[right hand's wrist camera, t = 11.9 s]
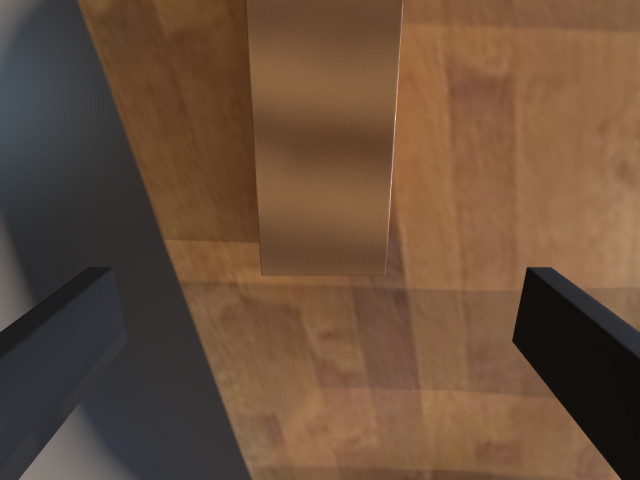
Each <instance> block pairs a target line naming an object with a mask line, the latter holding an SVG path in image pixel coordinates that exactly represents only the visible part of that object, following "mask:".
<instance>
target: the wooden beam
mask: <svg viewBox="0 0 640 480" xmlns="http://www.w3.org/2000/svg"><path fill="white" fill-rule="evenodd" d="M402 14H403V0H246V16H247V34H248V51H249V68H250V86H251V103H252V121H253V138H254V155H255V173H256V190H257V207H258V225H259V242H260V259H261V275H386V261H387V246H388V230H389V215H390V199H391V184H392V168H393V153H394V137H395V122H396V107H397V91H398V76H399V60H400V45H401V29H402Z"/></svg>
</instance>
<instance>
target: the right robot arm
mask: <svg viewBox="0 0 640 480" xmlns="http://www.w3.org/2000/svg"><path fill="white" fill-rule="evenodd" d="M127 342H128V339H127V334H126V329H125V325H124V320H123V315H122V310H121V305H120V300H119V295H118V290H117V285H116V280H115V275H114V270H113V267H89V268H87V269H86V270H85V271H83V272H82V273H80V274H79V275H78V276H76V277H75V278H74V279H72V280H71V281H70V282H68V283H67V284H65V285H64V286H63V287H61V288H60V289H59V290H57V291H56V292H55V293H53V294H52V295H50V296H49V297H48V298H46V299H45V300H44V301H42V302H41V303H40V304H38V305H37V306H35V307H34V308H33V309H31V310H30V311H29V312H27V313H26V314H25V315H23V316H22V317H20V318H19V319H18V320H16V321H15V322H14V323H12V324H11V325H10V326H8V327H7V328H5V329H4V330H3V331H1V332H0V480H19V478H20V477H21V476H22V475H23V473H24V472H25V471H26V469H27V468H28V467H29V466H30V464H31V463H32V462H33V461H34V459H35V458H36V457H37V456H38V454H39V453H40V452H41V451H42V449H43V448H44V447H45V445H46V444H47V443H48V442H49V440H50V439H51V438H52V437H53V435H54V434H55V433H56V432H57V430H58V429H59V428H60V426H61V425H62V424H63V423H64V421H65V420H66V419H67V418H68V416H69V415H70V414H71V413H72V411H73V410H74V409H75V407H76V406H77V405H78V404H79V402H80V401H81V400H82V399H83V397H84V396H85V395H86V393H87V392H88V391H89V390H90V388H91V387H92V386H93V385H94V383H95V382H96V381H97V380H98V378H99V377H100V376H101V375H102V373H103V372H104V371H105V369H106V368H107V367H108V366H109V364H110V363H111V362H112V361H113V359H114V358H115V357H116V356H117V354H118V353H119V352H120V350H121V349H122V348H123V347H124V345H125V344H126V343H127ZM512 342H513V343H514V344H515V345H516V347H517V348H518V349H519V350H520V352H521V353H522V354H523V356H524V357H525V358H526V359H527V361H528V362H529V363H530V364H531V366H532V367H533V368H534V369H535V371H536V372H537V373H538V375H539V376H540V377H541V378H542V380H543V381H544V382H545V383H546V385H547V386H548V387H549V388H550V390H551V391H552V392H553V394H554V395H555V396H556V397H557V399H558V400H559V401H560V402H561V404H562V405H563V406H564V407H565V409H566V410H567V411H568V413H569V414H570V415H571V416H572V418H573V419H574V420H575V421H576V423H577V424H578V425H579V426H580V428H581V429H582V430H583V432H584V433H585V434H586V435H587V437H588V438H589V439H590V440H591V442H592V443H593V444H594V445H595V447H596V448H597V449H598V451H599V452H600V453H601V454H602V456H603V457H604V458H605V459H606V461H607V462H608V463H609V464H610V466H611V467H612V468H613V470H614V471H615V472H616V473H617V475H618V476H619V477H620V478H621V480H640V332H639V331H637V330H636V329H635V328H633V327H632V326H630V325H629V324H628V323H626V322H625V321H624V320H622V319H621V318H620V317H618V316H617V315H615V314H614V313H613V312H611V311H610V310H609V309H607V308H606V307H605V306H603V305H602V304H600V303H599V302H598V301H596V300H595V299H594V298H592V297H591V296H590V295H588V294H587V293H585V292H584V291H583V290H581V289H580V288H579V287H577V286H576V285H575V284H573V283H572V282H570V281H569V280H568V279H566V278H565V277H564V276H562V275H561V274H560V273H558V272H557V271H555V270H554V269H553V268H551V267H527V270H526V275H525V280H524V285H523V290H522V295H521V300H520V305H519V310H518V315H517V320H516V325H515V329H514V334H513V339H512Z"/></svg>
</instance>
